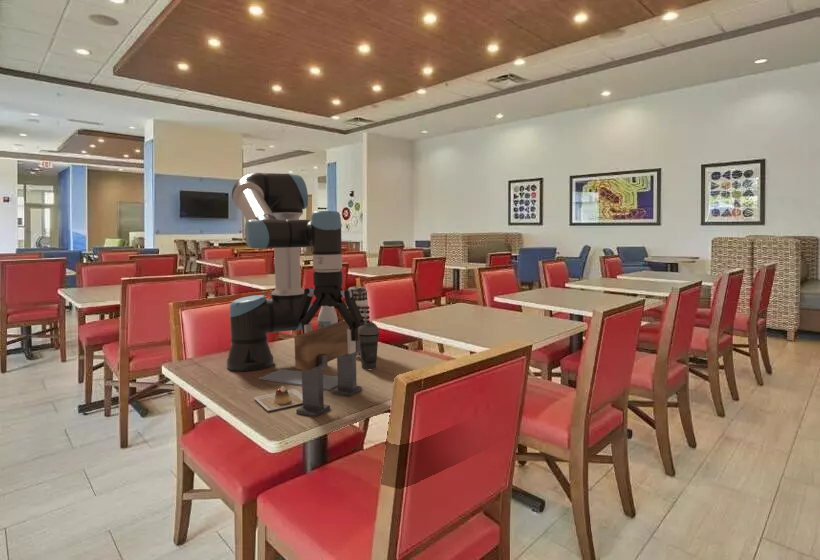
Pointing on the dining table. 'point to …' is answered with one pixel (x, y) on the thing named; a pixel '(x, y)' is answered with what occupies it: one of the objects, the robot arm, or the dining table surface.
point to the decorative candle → (360, 303)
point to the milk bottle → (327, 316)
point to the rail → (321, 345)
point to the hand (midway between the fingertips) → (329, 350)
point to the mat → (298, 378)
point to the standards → (314, 383)
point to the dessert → (280, 398)
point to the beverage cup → (368, 344)
